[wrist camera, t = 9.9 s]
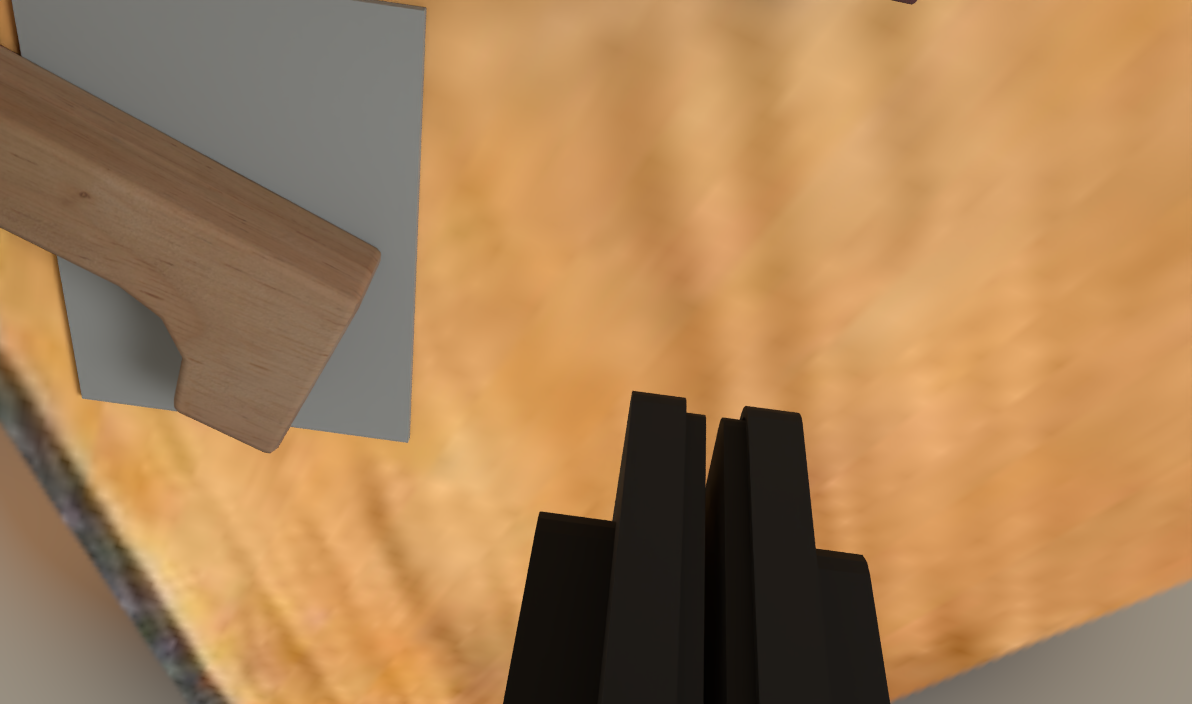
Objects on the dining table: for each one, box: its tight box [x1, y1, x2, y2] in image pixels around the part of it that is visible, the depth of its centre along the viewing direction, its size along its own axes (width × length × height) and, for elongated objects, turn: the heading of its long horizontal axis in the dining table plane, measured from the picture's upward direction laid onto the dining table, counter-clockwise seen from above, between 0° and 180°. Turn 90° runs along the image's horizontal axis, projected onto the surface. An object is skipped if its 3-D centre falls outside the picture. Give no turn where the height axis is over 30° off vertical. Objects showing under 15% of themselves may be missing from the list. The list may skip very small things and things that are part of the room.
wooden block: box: [0, 45, 381, 453], centre depth 42 cm, size 9×4×18 cm
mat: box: [12, 0, 426, 443], centre depth 44 cm, size 15×20×1 cm
